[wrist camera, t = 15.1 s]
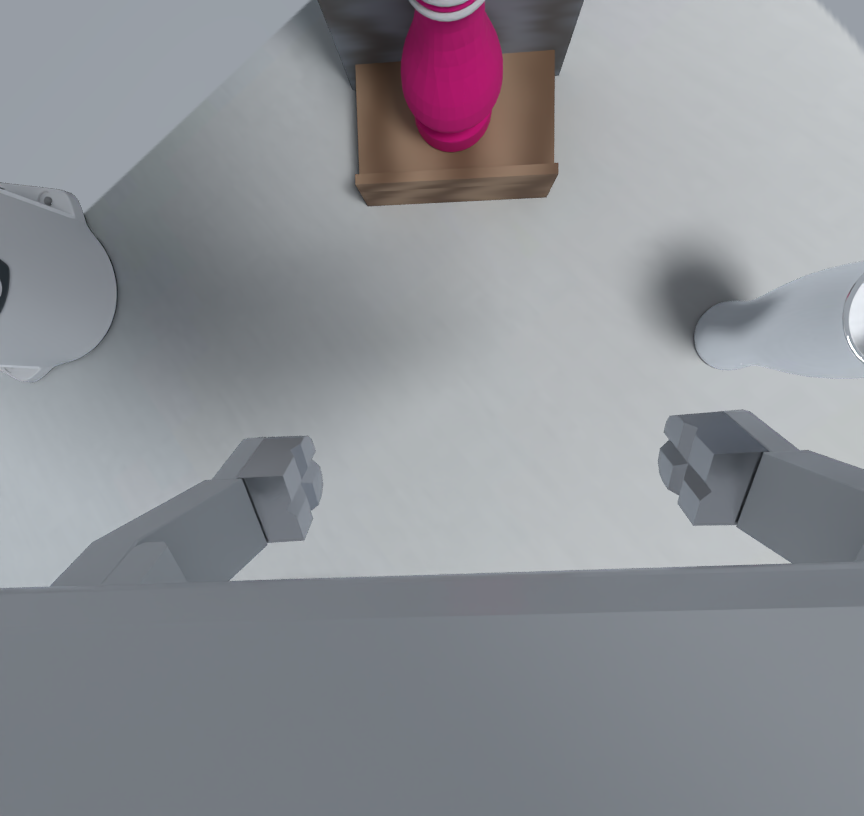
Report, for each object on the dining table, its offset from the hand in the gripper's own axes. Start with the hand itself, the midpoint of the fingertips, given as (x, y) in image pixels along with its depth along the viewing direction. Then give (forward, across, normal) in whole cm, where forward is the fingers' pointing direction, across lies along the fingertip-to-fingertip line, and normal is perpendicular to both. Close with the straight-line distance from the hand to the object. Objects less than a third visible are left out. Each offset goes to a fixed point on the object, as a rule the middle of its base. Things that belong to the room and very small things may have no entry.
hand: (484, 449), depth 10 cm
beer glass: (+28, -23, +9) cm, 38 cm away
